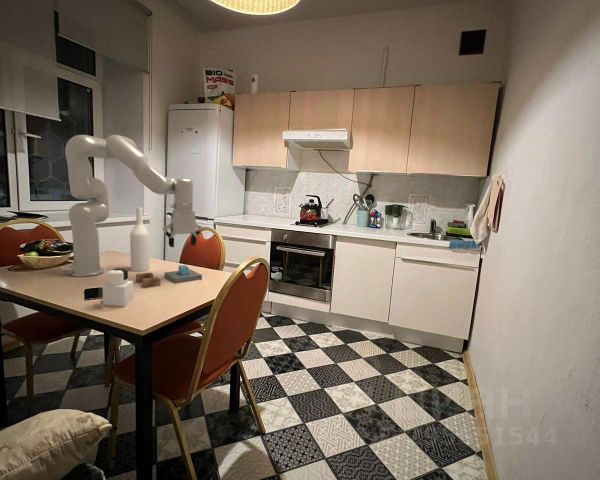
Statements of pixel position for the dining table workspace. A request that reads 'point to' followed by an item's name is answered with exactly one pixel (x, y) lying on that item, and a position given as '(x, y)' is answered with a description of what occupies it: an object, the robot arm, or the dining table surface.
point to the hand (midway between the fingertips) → (182, 246)
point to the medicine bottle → (118, 288)
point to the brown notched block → (147, 280)
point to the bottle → (139, 244)
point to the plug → (183, 270)
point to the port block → (177, 278)
